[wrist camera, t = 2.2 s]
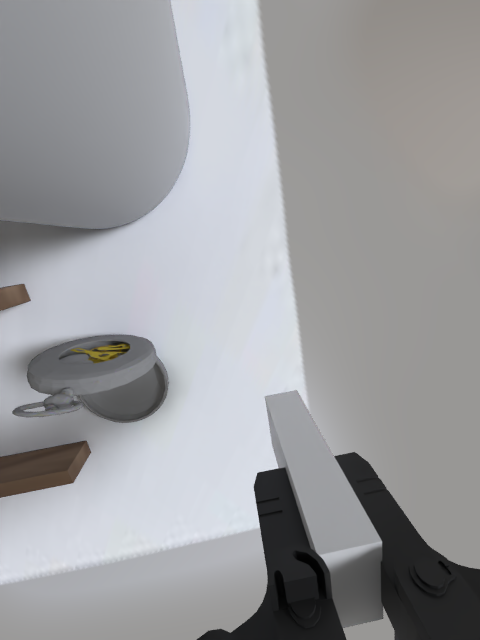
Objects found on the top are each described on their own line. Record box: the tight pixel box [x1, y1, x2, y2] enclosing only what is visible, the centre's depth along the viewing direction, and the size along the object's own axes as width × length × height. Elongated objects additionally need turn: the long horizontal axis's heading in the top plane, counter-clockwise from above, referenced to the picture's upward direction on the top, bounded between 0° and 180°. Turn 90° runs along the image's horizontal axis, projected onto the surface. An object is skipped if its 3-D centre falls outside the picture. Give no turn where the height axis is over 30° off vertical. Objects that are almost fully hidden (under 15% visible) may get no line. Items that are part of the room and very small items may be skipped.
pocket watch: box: [12, 335, 169, 423], centre depth 16 cm, size 8×8×10 cm
